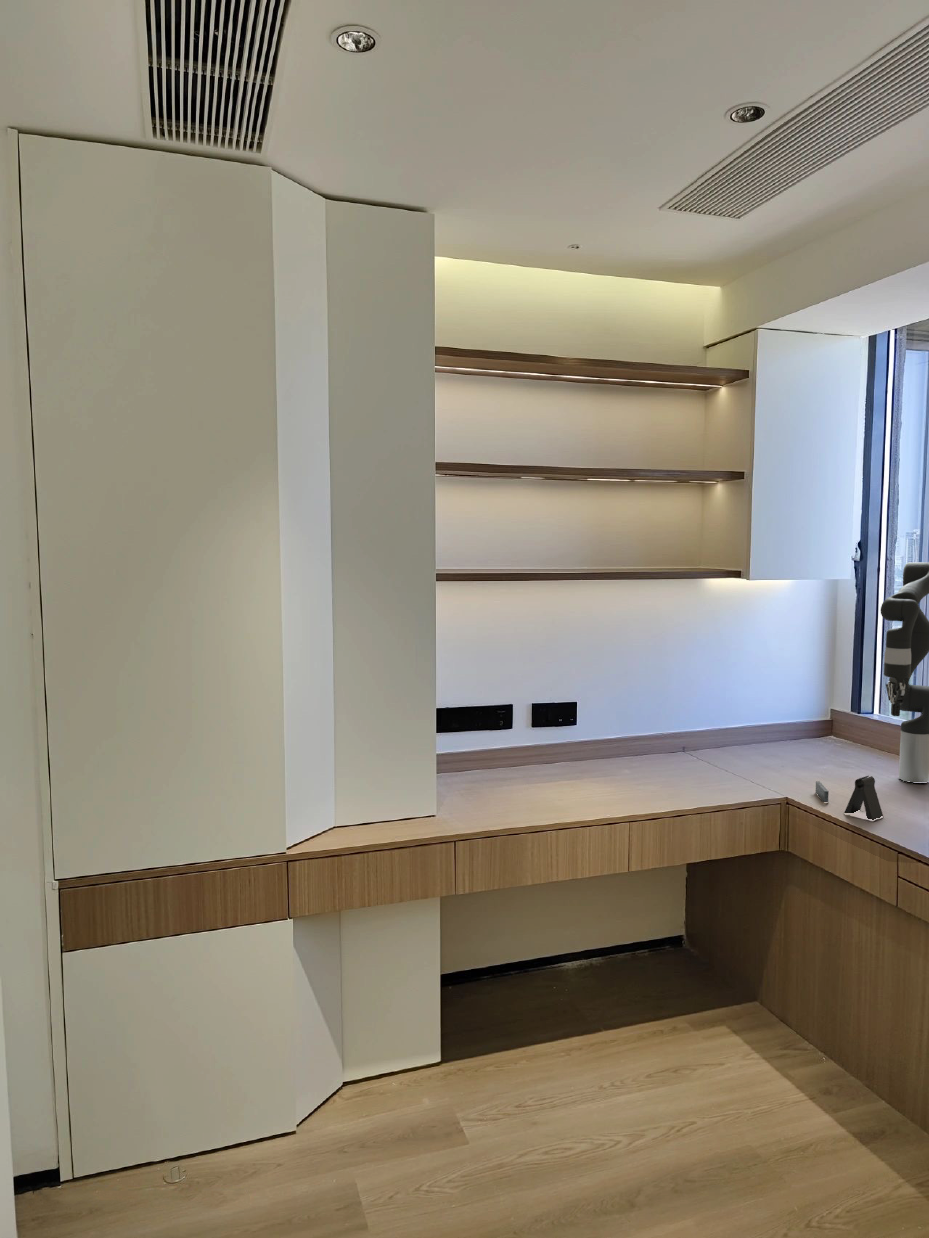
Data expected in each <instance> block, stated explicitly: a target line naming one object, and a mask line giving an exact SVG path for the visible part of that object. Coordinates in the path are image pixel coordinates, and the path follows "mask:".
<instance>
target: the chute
mask: <svg viewBox="0 0 929 1238" xmlns="http://www.w3.org/2000/svg"><path fill="white" fill-rule="evenodd" d="M816 793H817V794H818V796H819V797H820V798H821V799H822V800H823V802H828V803H829V790H828V789H827V788H826V786H824V785H823V783H822V782H821V781H820V780H819V781H818V780H817V781H816V780H815V794H816ZM817 794H816V795H817ZM818 796H817V797H818ZM819 797H818V798H819ZM820 798H819V799H820ZM821 799H820V800H821ZM822 800H821V801H822ZM823 802H822V803H823Z"/></svg>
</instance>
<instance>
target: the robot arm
mask: <svg viewBox="0 0 929 1238" xmlns="http://www.w3.org/2000/svg"><path fill="white" fill-rule="evenodd" d="M927 595H929V561H927V562H925V561H924V562H923V561H922V562H920V561H916V562H910V561H909V562H906V564H905V565H904V567H903V572H902V587H901V588H899V590H898V591H897V592H896V593H895V594H892V595H891V596H888V597H887V598H886V599H884V600H883V602H882V603H881V606H880V615H881V617H882V618H883V619H884V620H885V621H891V622H901V623H902V624H901V627H897V628H896V627H895V628H889V629H888V630H887V631H886V635H885V649H884V662H883V663H884V665H883V676H884V677H887V678H889V679H888V682H887V683H885V688H886V693H887V698H888V701H890V702H889V703H890V704H891V705H890V715H891V716H893V717H900V715H901V712H908V713H909V712H911V713H912V712H913V713H921V714H920V716H918V717H915V718H913V719H908V720H904V721H902V722H901V724H900V742H899V744H900V745H899V762H898V764H899V765H898V779H899V778H900V779H902V780H903V781H902V782H904V781H910V782H927V781H929V685H921V684H920V685H918V684H910V681H911V680H910V679H911V677H912V676H913V673H914V671H915V670H916V669H917V668H918V666H919V665H920V664H921V662H922V661H923V660H924V659H925V658H926V657H927V655H928V654H929V619H928V618H927V616H926V615H925V613H924V612H923V610H922V609H921V607H920V605H919V604H920V602H921V601H922V599H924V597H926V596H927Z"/></svg>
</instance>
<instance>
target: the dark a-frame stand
mask: <svg viewBox="0 0 929 1238" xmlns="http://www.w3.org/2000/svg"><path fill="white" fill-rule="evenodd" d="M875 783H876V780H875V778H874V777H873V776H871V775H865V776H863V777H862V776H861V777H859V778H857V779H856V780H855V781H854V788H853V789H854V790H853V791H852V794H851V795H850V796H851V797H850V798H849V801H848V803H847V806H846V808H845V810H844V813H854V812H856V811H858V810H860V811H862V806H864V812H866V816H867V818H868V819H872V820H874V819H876V818H880V817H881V816H883V817H884V814H883V811H882V808H881V803H880V801H879V800H880V799H879V797H878V793H877V791H876V787H875ZM844 813H843V814H844Z"/></svg>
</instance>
